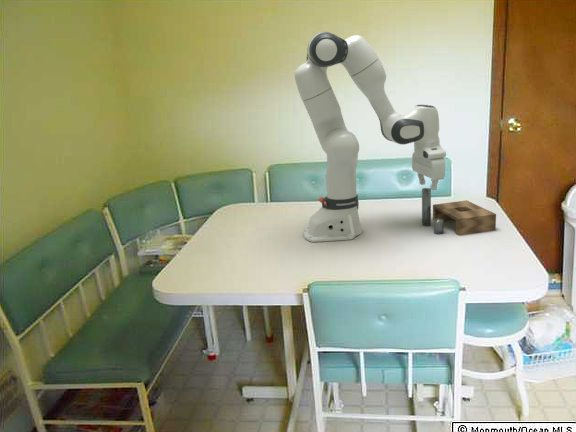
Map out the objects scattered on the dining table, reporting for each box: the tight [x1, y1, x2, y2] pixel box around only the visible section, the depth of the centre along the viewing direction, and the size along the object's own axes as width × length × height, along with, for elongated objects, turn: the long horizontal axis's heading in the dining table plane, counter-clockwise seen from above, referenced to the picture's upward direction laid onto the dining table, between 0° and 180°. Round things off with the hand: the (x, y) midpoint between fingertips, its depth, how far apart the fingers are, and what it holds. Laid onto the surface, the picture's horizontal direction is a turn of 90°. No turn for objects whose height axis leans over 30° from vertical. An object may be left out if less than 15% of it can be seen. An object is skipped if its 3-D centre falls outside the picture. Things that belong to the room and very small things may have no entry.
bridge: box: [432, 200, 497, 236], centre depth 180 cm, size 14×20×6 cm
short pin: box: [433, 218, 444, 235], centre depth 173 cm, size 3×3×5 cm
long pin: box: [421, 187, 432, 227], centre depth 181 cm, size 3×3×14 cm
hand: (427, 187), depth 179 cm, fingers open, 8 cm apart
